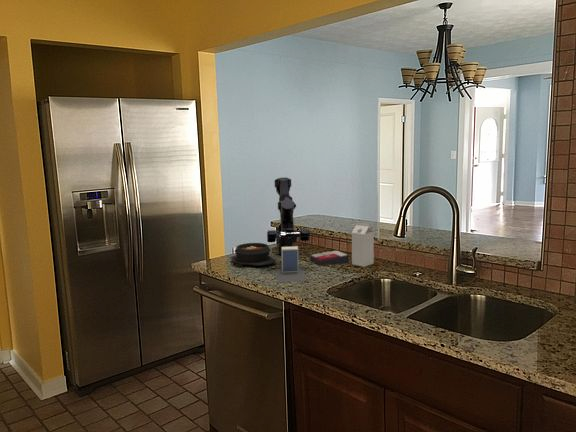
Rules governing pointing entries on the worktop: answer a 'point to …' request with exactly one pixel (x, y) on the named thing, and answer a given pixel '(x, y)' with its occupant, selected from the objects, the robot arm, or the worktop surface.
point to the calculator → (329, 258)
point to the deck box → (290, 259)
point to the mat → (291, 276)
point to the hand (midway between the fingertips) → (289, 251)
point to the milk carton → (362, 245)
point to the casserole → (253, 254)
